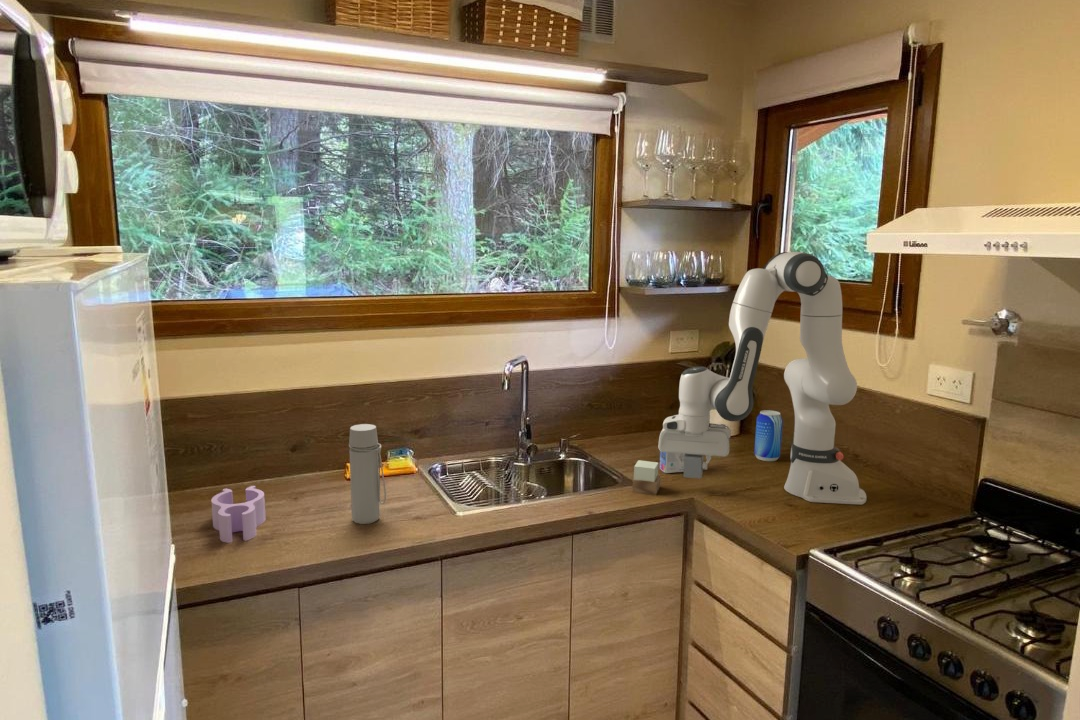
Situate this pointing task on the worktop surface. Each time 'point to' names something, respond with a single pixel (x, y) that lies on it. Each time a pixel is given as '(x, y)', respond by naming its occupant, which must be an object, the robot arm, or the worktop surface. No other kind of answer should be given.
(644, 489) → the tower base
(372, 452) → the water bottle
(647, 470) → the cream square block
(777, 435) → the beer can
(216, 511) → the clip
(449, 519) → the worktop surface
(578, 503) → the worktop surface
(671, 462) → the ink cartridge box
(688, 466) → the grey block
